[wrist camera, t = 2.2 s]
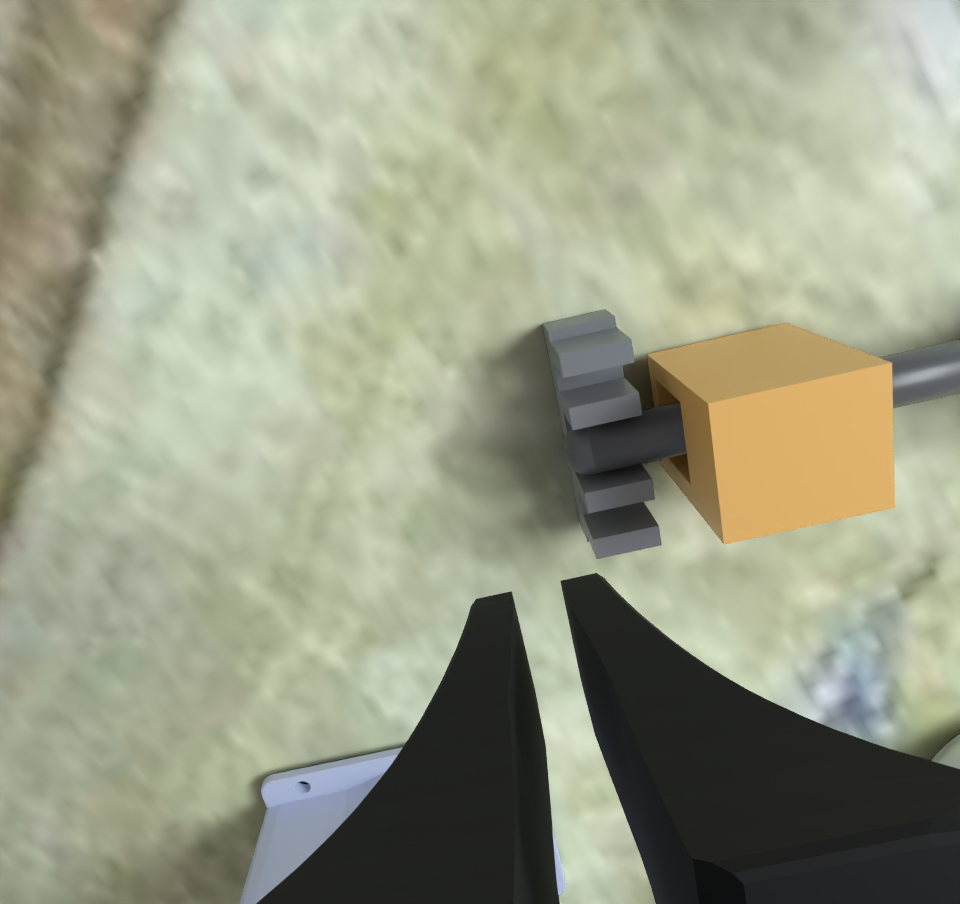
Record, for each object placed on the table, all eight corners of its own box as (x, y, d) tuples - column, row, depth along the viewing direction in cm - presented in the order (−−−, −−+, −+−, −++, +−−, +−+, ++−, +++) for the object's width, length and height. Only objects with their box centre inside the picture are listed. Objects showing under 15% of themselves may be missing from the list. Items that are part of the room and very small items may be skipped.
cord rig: (571, 526, 22) (591, 581, 19) (532, 326, 20) (548, 351, 17) (1149, 400, 22) (1270, 435, 18) (1174, 179, 19) (1317, 176, 16)
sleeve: (662, 466, 21) (724, 544, 17) (646, 354, 20) (708, 403, 15) (794, 437, 21) (894, 507, 16) (786, 322, 20) (891, 362, 15)
